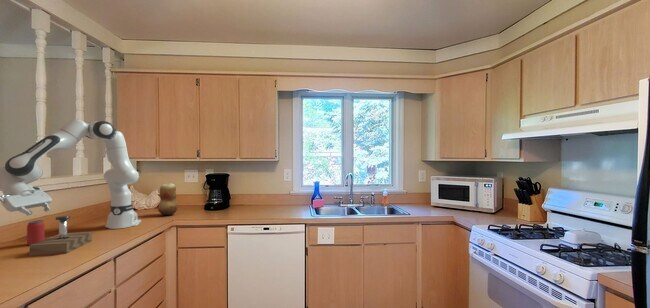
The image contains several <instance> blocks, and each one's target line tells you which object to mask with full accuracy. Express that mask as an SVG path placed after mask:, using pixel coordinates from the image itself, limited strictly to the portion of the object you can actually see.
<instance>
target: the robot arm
mask: <svg viewBox="0 0 650 308" xmlns="http://www.w3.org/2000/svg"><path fill="white" fill-rule="evenodd" d="M85 137H86V138H88V139H91V140H92V139H93V140H102V141H103V142H104V144H105V145H104V146H105V152H106V157H107V160H108V163H110V164H111V165H112V168H110V169H107V170H106V171H105V172H104V174H103V178H104V181H105V182H106V183H107V186H108V189H109V191H110V203H111V204H110V207H109V211H110V212H109V214H107V224H105V225H104V228H107V229H113V230H114V229H115V230H116V229H125V228H126V229H127V228H131V227H136V226H139V224H140V223H142V219H139V217H138V213H137V212H136V211H135V210H134V206H135V204H134V203H132V192H131V190H130V189H129V185H132V184H136V183H137V182H138V181H139V178H140V174H139V172H138V171H137V170H136V169H135V167H134V166H133V165H132V162H131V160H130V158H129V153H128V148H127V142H126V140H125V136H124V134H123V132H121V131H119V130H117V129H116V128H115V127H114V125H113V124H112V123H110V122H108V121H106V120H95V121H90V122H85V121H83V120H82V119H77V118H76V119H74V118H73V119H71V120H69V121H68V122H67V123H65V124H64V125H62V126H61V127H60V128H58V129H57V130H55V132H53V133H51V134H50V135H48V136H45V137H43V138H42V139H41V140H39V141H38V142H36V143H34V144H33V145H32V146H30V147H29V148H27V149H26V150H25V151H23V152H21V153H19V154H16V155H14V156H12V157H10V158H9V159H7V160H6V161H5V164H4V166H0V191H1V192H2V194H3V195H0V202H1V205H2V206H3V208H4V209H5V210H6V211H7V212H11V213H13V212H17V211H18V212H20V213H22V214H25V215H26V216H31V215H33V212H32V210H29V209H33V208H37V207H42V208H44V209H43V211H44V212H50V211H51V208H50V207H49V205H50V204H51V203H52V201H53V198H52V197H51V196H50V195H49V194H48V193H47V192H45V191H43V188H42V187H39V186H33V185H29V184H31V183H34V182H35V181H38V180H39V179H41V178H42V176H43V175H44V171H43V168H41V167H40V166H39V165H38V164H37V161H38V160H39V159H40V158H42V157H43V156H45V155H46V154H47V153H49V152H50V151H53V150H62V151H63V150H70V149H72V148H73V147H75V146H76V145H77V144H79V142H80V141H81V140H82V139H83V138H85Z"/></svg>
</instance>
